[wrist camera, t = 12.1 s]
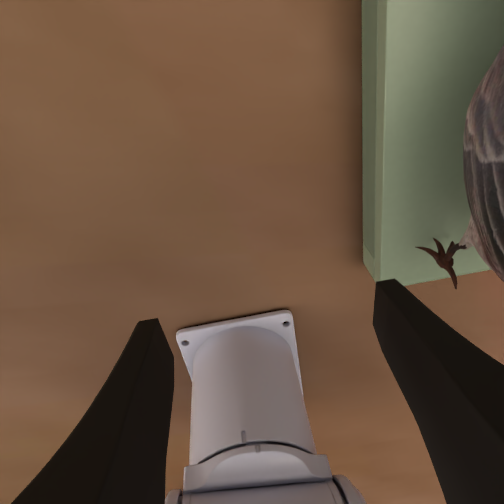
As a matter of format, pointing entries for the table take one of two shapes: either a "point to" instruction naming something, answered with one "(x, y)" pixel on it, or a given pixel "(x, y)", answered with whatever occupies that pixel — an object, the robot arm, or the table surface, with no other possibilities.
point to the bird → (482, 175)
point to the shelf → (420, 129)
